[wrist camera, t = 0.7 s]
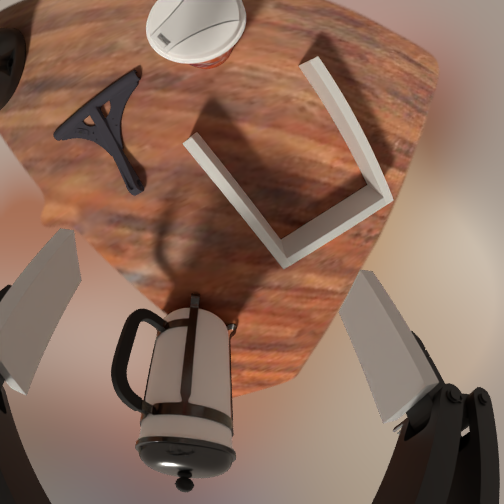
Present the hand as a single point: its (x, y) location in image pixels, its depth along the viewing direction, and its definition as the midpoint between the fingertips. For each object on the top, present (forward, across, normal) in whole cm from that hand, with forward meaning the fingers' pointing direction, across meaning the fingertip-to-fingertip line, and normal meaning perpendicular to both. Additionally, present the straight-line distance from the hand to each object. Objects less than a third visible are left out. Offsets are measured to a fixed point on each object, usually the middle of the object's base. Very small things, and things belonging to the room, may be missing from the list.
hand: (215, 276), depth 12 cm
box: (+25, +9, +1) cm, 26 cm away
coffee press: (+25, -2, -29) cm, 38 cm away
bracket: (+26, -15, 0) cm, 30 cm away
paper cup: (+25, -4, +13) cm, 29 cm away
